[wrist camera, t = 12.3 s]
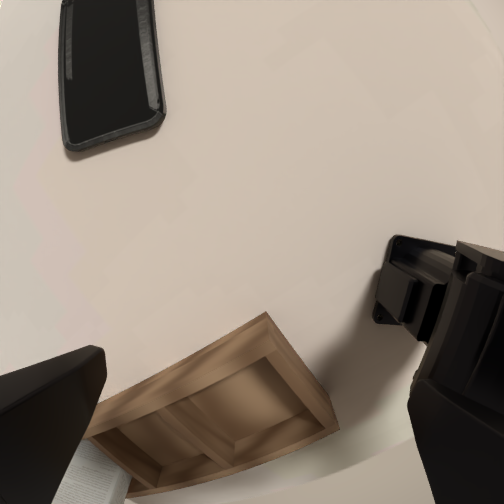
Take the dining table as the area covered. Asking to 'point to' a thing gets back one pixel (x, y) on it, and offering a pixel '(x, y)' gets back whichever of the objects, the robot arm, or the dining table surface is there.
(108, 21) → the phone
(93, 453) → the skincare box
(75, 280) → the dining table surface
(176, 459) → the wooden crate
